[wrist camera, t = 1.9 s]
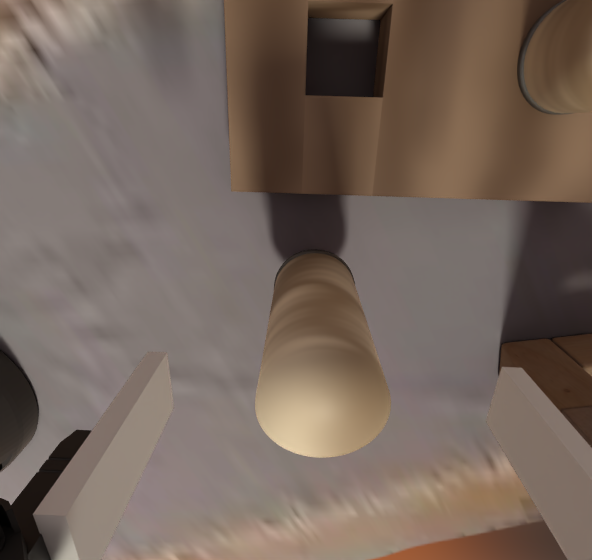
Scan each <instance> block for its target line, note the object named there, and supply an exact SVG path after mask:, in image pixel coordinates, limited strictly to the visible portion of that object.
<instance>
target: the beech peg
mask: <svg viewBox="0 0 592 560" xmlns="http://www.w3.org/2000/svg"><path fill="white" fill-rule="evenodd" d="M390 408H391V399H390V393H389V389H388V386H387V383H386V380H385V377H384V374H383V371H382V368H381V364H380V361H379V358H378V355H377V352H376V349H375V346H374V343H373V340H372V337H371V334H370V330H369V327H368V324H367V321H366V318H365V315H364V312H363V309H362V306H361V303H360V300H359V296H358V293H357V290H356V287H355V282H354V278H353V275H352V273H351V270H350V269H349V267H348V266H347V264H346V263H345V262H344V261H343V260H342V259H341V258H339V257H338V256H336V255H334V254H332V253H330V252H327V251H323V250H307V251H303V252H299V253H297V254H295V255H293V256H292V257H290V258H289V259H287V260H286V261H285V262H284V263H283V265H282V266H281V267H280V269H279V271H278V273H277V275H276V278H275V283H274V294H273V300H272V305H271V311H270V317H269V323H268V329H267V335H266V340H265V346H264V352H263V358H262V364H261V370H260V375H259V381H258V387H257V393H256V399H255V410H256V415H257V419H258V421H259V423H260V426H261V427H262V429H263V430H264V432H265V433H266V434H267V435H268V436H269V437H270V438H271V439H272V440H273V441H274V442H275V443H277V444H278V445H280V446H281V447H283V448H285V449H287V450H289V451H291V452H294V453H297V454H300V455H304V456H309V457H335V456H340V455H344V454H348V453H351V452H353V451H356V450H358V449H360V448H362V447H363V446H365V445H367V444H368V443H369V442H371V441H372V440H373V439H374V438H375V437H376V436H377V435H378V434H379V433H380V432H381V430H382V429H383V427H384V426H385V424H386V422H387V420H388V417H389V413H390Z"/></svg>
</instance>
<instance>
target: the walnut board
mask: <svg viewBox="0 0 592 560" xmlns="http://www.w3.org/2000/svg"><path fill="white" fill-rule="evenodd" d="M224 14H225V39H226V65H227V91H228V116H229V142H230V168H231V191H238V192H270V193H301V194H333V195H365V196H396V197H428V198H460V199H492V200H523V201H555V202H587V203H592V0H224ZM308 18H334V19H368V20H381V22H380V32H379V42H378V52H377V62H376V73H375V83H374V93H373V97H345V96H312V95H305V85H306V56H307V26H308Z"/></svg>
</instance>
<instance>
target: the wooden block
mask: <svg viewBox="0 0 592 560" xmlns="http://www.w3.org/2000/svg"><path fill="white" fill-rule="evenodd" d="M502 367H517V368H522V369H523V370H524V371H525V372H526V373H527V374H528V375H529V377H530V378H531V379H532V380H533V381H534V382H535V383H536V385H537V386H538V387H539V388H540V389H541V390H542V392H543V393H544V394H545V395H546V396H547V397H548V398H549V400H550V401H551V402H552V403H553V404H554V405H555V406H556V408H557V409H558V410H559V411H560V412H561V413H562V414H563V416H564V417H565V418H566V419H567V420H568V421H569V422H570V424H571V425H572V426H573V427H574V428H575V429H576V430H577V432H578V433H579V434H580V435H581V436H582V437H583V438H584V440H585V441H586V442H587V443H588V444H589V445H590V446H591V448H592V334H583V335H574V336H565V337H556V338H553V339H552V340H549V339H535V340H526V341H517V342H508V343H504V344H502V346H501V358H500V370H499V375H500V371H501V368H502Z"/></svg>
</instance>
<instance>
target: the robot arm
mask: <svg viewBox="0 0 592 560" xmlns="http://www.w3.org/2000/svg"><path fill="white" fill-rule="evenodd" d="M173 408H174V404H173V396H172V388H171V380H170V372H169V364H168V356H167V353H165V352H147V354H146V355H145V356H144V358H143V359H142V361H141V362H140V364H139V365H138V366H137V368H136V369H135V371H134V372H133V373H132V375H131V376H130V378H129V379H128V380H127V382H126V383H125V385H124V386H123V388H122V389H121V390H120V392H119V393H118V395H117V396H116V397H115V399H114V400H113V402H112V403H111V404H110V406H109V407H108V409H107V410H106V412H105V413H104V414H103V416H102V417H101V419H100V420H99V421H98V423H97V424H96V426H95V427H94V428H93V430H92V431H89V430H76V431H75V432H73V433H72V434H71V435H69V436H68V437H67V438H65V439H64V440H63V441H62V442H60V444H59V445H58V446H57V447H56V449H55V450H54V451H53V453H52V454H51V455H50V456H49V459H48V460H46V461H45V463H44V464H43V465H42V467H41V468H40V469H39V472H37V473H36V474H35V476H34V477H33V478H32V479H31V481H30V482H29V483H28V485H27V486H26V487H25V488H24V490H23V491H22V492H21V493H20V495H19V496H18V497H17V499H16V500H15V501H14V502H13V504H12V505H10V503H9V501H6V500H4V499H2V498H0V560H101V559H102V557H103V555H104V553H105V551H106V549H107V547H108V545H109V543H110V541H111V538H112V536H113V534H114V532H115V530H116V528H117V526H118V524H119V522H120V520H121V517H122V515H123V513H124V511H125V509H126V507H127V505H128V503H129V501H130V499H131V497H132V494H133V492H134V490H135V488H136V486H137V484H138V482H139V480H140V478H141V476H142V473H143V471H144V469H145V467H146V465H147V463H148V461H149V459H150V457H151V455H152V452H153V450H154V448H155V446H156V444H157V442H158V440H159V438H160V436H161V434H162V431H163V429H164V427H165V425H166V423H167V421H168V419H169V417H170V415H171V413H172V411H173ZM486 423H487V425H488V426H489V428H490V430H491V431H492V433H493V435H494V436H495V438H496V440H497V441H498V443H499V445H500V446H501V448H502V450H503V452H504V453H505V455H506V457H507V458H508V460H509V462H510V463H511V465H512V467H513V468H514V470H515V472H516V473H517V475H518V477H519V478H520V480H521V482H522V484H523V485H524V487H525V489H526V490H527V492H528V494H529V495H530V497H531V499H532V500H533V502H534V504H535V505H536V507H537V509H538V510H539V512H540V514H541V516H542V517H543V519H544V521H545V522H546V524H547V525H548V527H549V529H550V531H551V532H552V534H553V536H554V537H555V539H556V540H557V542H558V544H559V546H560V547H561V549H562V551H563V552H564V554H565V556H566V557H567V559H568V560H592V448H591V446H590V445H589V444H588V443H587V442H586V441H585V440H584V438H583V437H582V436H581V435H580V434H579V433H578V432H577V430H576V429H575V428H574V427H573V426H572V425H571V424H570V422H569V421H568V420H567V419H566V418H565V417H564V416H563V414H562V413H561V412H560V411H559V410H558V409H557V408H556V406H555V405H554V404H553V403H552V402H551V401H550V400H549V398H548V397H547V396H546V395H545V394H544V393H543V392H542V390H541V389H540V388H539V387H538V386H537V385H536V383H535V382H534V381H533V380H532V379H531V378H530V377H529V375H528V374H527V373H526V372H525V371H524V370H523V369H522V368H517V367H502V368H501V371H500V375H499V378H498V382H497V385H496V388H495V392H494V395H493V399H492V402H491V405H490V409H489V412H488V416H487V419H486ZM37 425H38V407H37V402H36V399H35V396H34V393H33V391H32V389H31V387H30V385H29V383H28V381H27V380H26V378H25V377H24V375H23V374H22V373H21V371H20V370H19V369H18V368H17V366H16V365H15V364H14V363H13V362H12V361H11V360H10V359H9V358H8V357H7V356H6V355H5V354H3V353H2V352H1V351H0V472H1V471H3V470H4V469H5V468H6V467H7V466H9V465H10V464H11V463H12V462H13V461H14V459H15V458H16V457H17V456H18V455H19V454H20V452H21V451H22V450H23V449H24V448H25V447H26V446H27V444H28V443H29V442H30V441H31V439H32V438H33V436H34V434H35V431H36V429H37Z"/></svg>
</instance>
